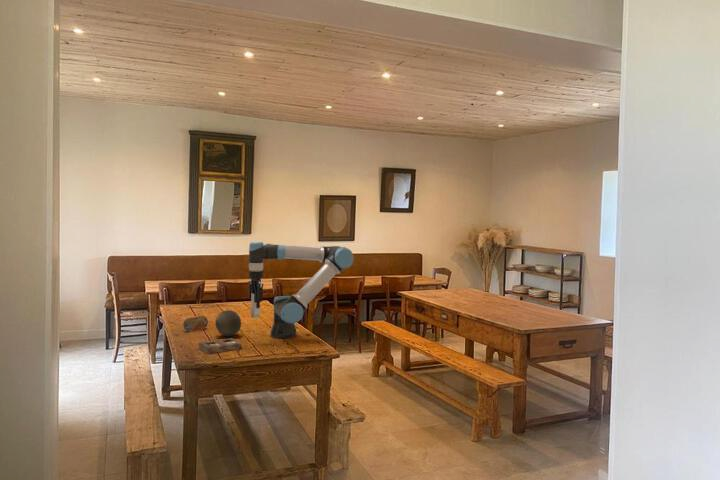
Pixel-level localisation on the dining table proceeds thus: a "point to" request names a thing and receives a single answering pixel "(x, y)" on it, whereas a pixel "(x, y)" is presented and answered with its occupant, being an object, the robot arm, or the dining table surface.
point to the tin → (195, 323)
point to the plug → (253, 306)
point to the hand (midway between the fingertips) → (255, 313)
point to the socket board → (220, 345)
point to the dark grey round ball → (228, 323)
